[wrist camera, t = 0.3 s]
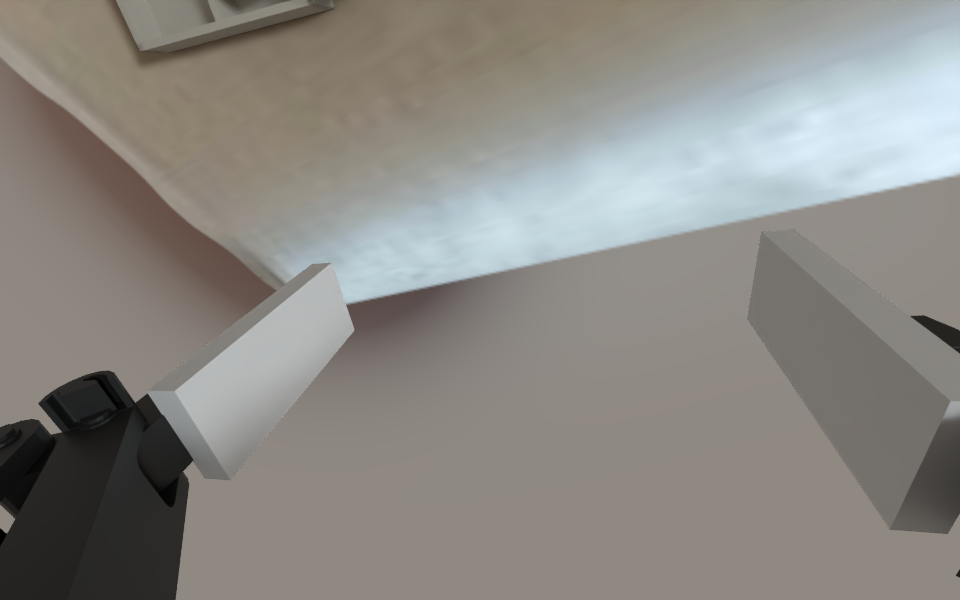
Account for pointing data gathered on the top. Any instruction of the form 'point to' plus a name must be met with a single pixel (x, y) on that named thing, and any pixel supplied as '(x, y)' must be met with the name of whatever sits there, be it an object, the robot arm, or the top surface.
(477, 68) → the top surface
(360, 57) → the top surface
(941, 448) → the robot arm
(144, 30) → the carton
